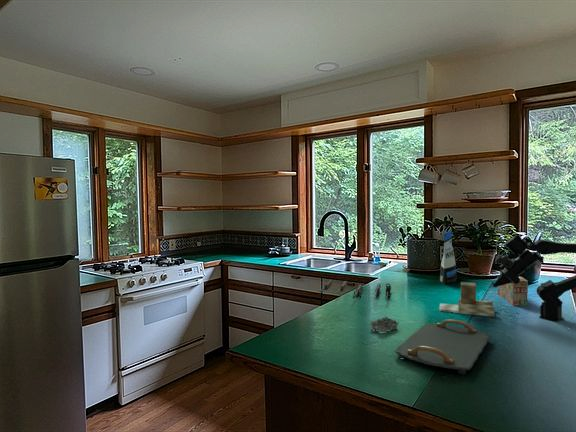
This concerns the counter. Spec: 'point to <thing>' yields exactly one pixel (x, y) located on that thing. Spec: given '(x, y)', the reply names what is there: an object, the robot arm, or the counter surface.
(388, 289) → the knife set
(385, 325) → the bumpy grey rock
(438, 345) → the serving board
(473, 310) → the chute
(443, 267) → the protein powder
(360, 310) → the counter surface
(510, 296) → the stack of blocks
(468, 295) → the walnut block
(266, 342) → the counter surface
